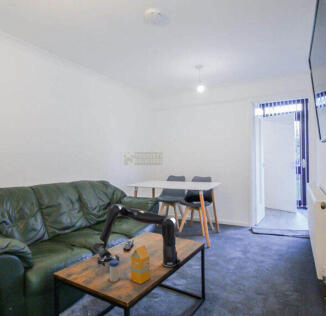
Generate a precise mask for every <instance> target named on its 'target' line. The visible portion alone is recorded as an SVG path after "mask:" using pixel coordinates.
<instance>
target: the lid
mask: <svg viewBox="0 0 326 316" xmlns="http://www.w3.org/2000/svg"><path fill="white" fill-rule="evenodd" d="M119 265H120V260H119V261H118V260H111V261H109V262H108V266H109V267H110V266H111V267H115V266H118V267H119Z"/></svg>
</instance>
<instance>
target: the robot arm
mask: <svg viewBox="0 0 326 316" xmlns="http://www.w3.org/2000/svg"><path fill="white" fill-rule="evenodd" d="M107 213H108V214H107V217H106V220H105V224H104V226H103V228H102V231H101V233H100V235H99V240H100V241H95V242H94V243H93V245H92V250H93V252H94V253H96V254H97V255H98V256H99V257H97V258H96V261H97V264H98V266H99V265H101V266H102V267H106V263H109V261H111V260H118V261H119V262H120V256H118V255H117V254H115V255H112V252H111V251H110V250H109V249H108V243H109V239H110V238H111V235H112V233H113V226H114V223H115V221H116V219H117V218H118V217H125V218H129V219H130V220H132V221H134V222H136V223H139V224H144V225H157V226H161V238H162V266H163V267H166V268H175V267H176V266H178V265H179V264H181V259H180V258H179V257H178V251H177V236H176V232H175V231H176V230H175V229H176V227H177V225H178V222H177V220H176V218H175V217H173V216H170V215H163V214H158V213H154V212H152V211H151V212H150V211H147V210H143V209H138V208H131V207H128V206H125V205H123V204H121V203H115V204H112V205H111V206H110V207H109V210H108V212H107Z"/></svg>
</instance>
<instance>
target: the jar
mask: <svg viewBox="0 0 326 316" xmlns="http://www.w3.org/2000/svg"><path fill="white" fill-rule="evenodd" d="M109 281H110V282H113V283H115V282H118V281H119V265H118V266H115V267H111V266H109Z"/></svg>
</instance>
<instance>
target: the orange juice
mask: <svg viewBox="0 0 326 316" xmlns="http://www.w3.org/2000/svg"><path fill="white" fill-rule="evenodd" d="M130 280H131V281H132V282H134V283H137V284H140V285H142V284H143V283H145V282H146V281H148V280H150V254H149V252H148V250H147V247H146V245H145V244H144V245H141V246H139V247H137V248H135V249H134V251H133V253H132V255H131V256H130Z"/></svg>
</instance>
